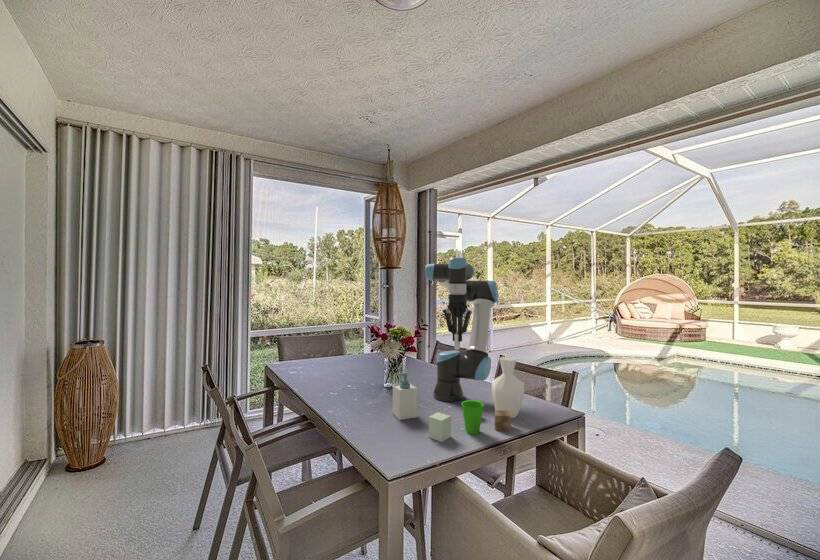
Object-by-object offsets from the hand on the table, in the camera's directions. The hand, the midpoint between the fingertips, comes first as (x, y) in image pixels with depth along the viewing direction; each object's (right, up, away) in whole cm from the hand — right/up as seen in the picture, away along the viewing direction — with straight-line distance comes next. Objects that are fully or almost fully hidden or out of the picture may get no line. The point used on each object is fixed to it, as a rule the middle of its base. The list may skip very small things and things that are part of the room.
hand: (457, 348), depth 157 cm
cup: (+5, -31, -12) cm, 33 cm away
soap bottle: (-23, -31, +5) cm, 38 cm away
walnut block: (+17, -31, -8) cm, 36 cm away
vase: (+23, -31, +6) cm, 39 cm away
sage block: (-9, -31, -17) cm, 36 cm away
